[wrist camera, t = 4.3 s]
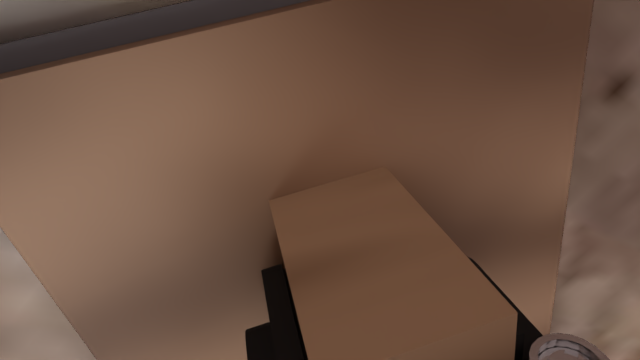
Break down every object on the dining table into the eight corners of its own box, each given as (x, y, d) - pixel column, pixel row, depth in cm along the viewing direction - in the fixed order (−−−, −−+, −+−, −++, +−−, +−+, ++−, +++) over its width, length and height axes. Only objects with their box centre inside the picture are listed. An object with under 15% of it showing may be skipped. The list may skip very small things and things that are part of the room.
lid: (529, 332, 16) (677, 498, 11) (189, 454, 15) (176, 715, 10) (566, -61, 10) (991, -104, 4) (-58, 87, 8) (-573, 300, 3)
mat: (529, 325, 17) (539, 337, 17) (181, 450, 15) (180, 466, 15) (568, -86, 10) (588, -90, 9) (-84, 63, 8) (-103, 69, 8)
